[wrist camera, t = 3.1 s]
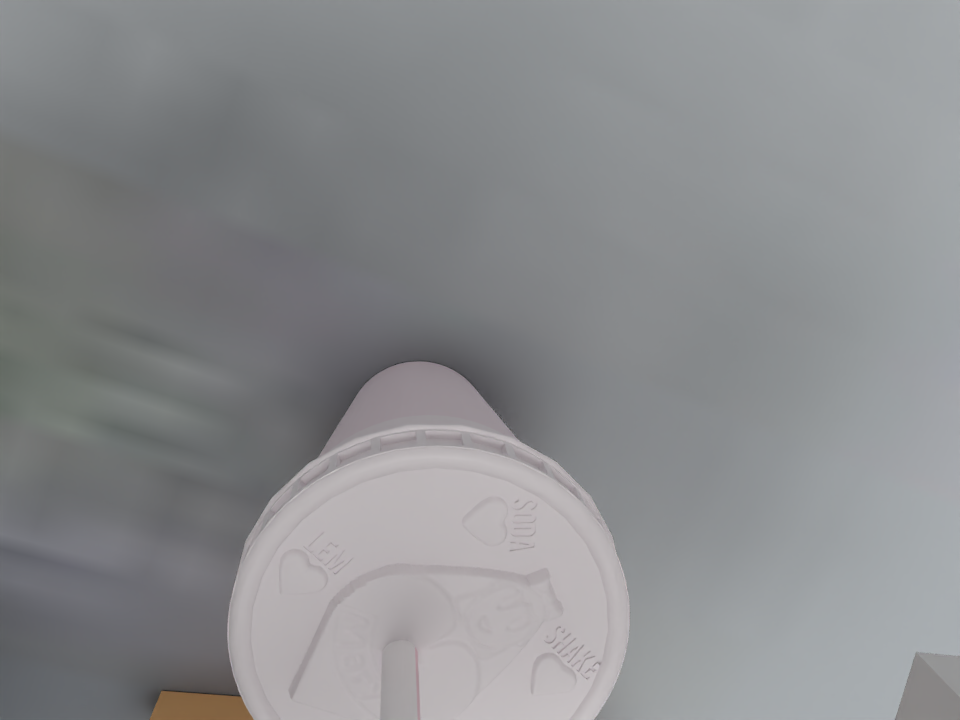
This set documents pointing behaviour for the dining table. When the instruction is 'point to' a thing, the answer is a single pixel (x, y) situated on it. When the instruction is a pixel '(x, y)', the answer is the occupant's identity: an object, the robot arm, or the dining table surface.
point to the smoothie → (428, 572)
